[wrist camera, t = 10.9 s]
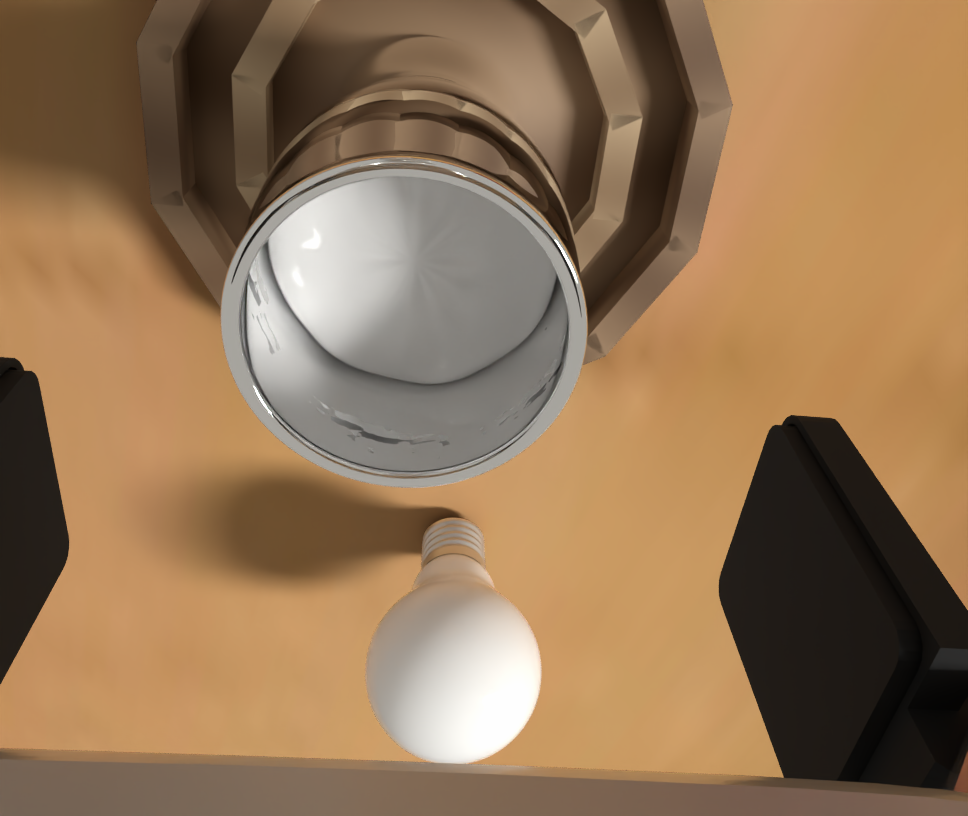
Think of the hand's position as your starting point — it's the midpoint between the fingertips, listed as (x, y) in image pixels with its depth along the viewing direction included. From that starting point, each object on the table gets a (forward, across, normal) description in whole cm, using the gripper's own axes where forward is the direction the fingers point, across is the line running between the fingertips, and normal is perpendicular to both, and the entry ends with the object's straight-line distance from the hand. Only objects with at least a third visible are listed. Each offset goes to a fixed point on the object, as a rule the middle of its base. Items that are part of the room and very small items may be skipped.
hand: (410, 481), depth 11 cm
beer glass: (+20, 0, +1) cm, 20 cm away
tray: (+21, 0, +1) cm, 21 cm away
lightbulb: (+20, -2, +18) cm, 27 cm away
